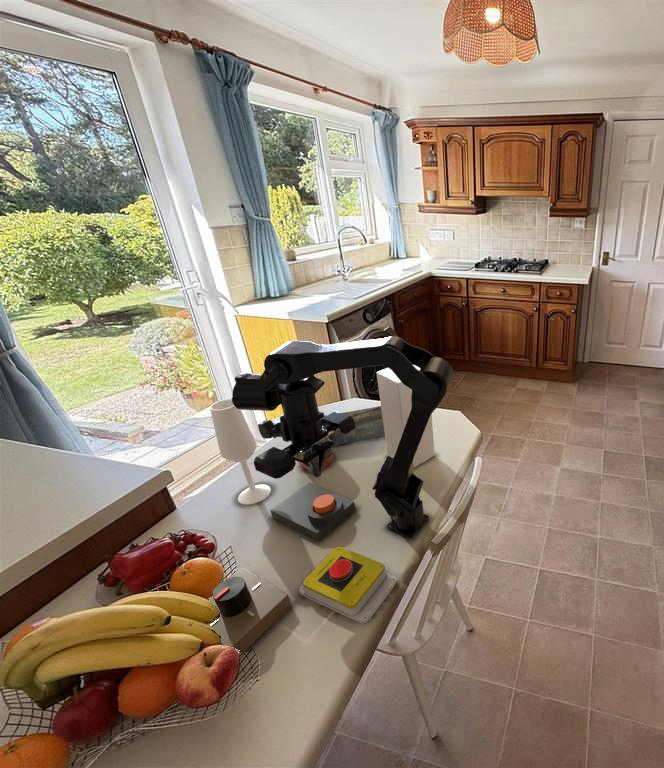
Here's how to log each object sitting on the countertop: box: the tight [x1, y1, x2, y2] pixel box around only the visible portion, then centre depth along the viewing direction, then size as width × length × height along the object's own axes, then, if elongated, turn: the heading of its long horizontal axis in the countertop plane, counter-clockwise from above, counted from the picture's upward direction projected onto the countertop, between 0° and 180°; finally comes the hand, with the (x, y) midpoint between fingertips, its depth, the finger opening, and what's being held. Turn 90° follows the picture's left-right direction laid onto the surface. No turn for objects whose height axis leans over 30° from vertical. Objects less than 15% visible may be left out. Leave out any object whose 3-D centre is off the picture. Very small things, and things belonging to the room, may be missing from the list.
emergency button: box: [298, 546, 398, 624], centre depth 72 cm, size 9×4×15 cm
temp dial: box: [212, 576, 251, 617], centre depth 66 cm, size 4×4×4 cm
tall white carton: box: [376, 365, 436, 469], centre depth 102 cm, size 9×9×25 cm
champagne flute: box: [209, 398, 272, 505], centre depth 88 cm, size 7×7×24 cm
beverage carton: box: [324, 405, 385, 446], centre depth 114 cm, size 8×19×7 cm, turn 111°
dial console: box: [208, 567, 292, 655], centre depth 67 cm, size 12×10×3 cm
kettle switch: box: [313, 494, 335, 514], centre depth 85 cm, size 4×4×2 cm
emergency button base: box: [269, 482, 356, 542], centre depth 88 cm, size 14×10×4 cm
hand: (317, 476), depth 82 cm, fingers closed
